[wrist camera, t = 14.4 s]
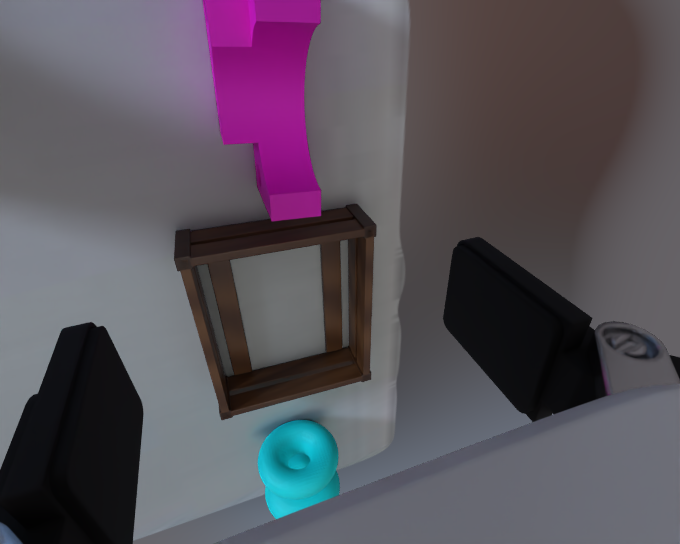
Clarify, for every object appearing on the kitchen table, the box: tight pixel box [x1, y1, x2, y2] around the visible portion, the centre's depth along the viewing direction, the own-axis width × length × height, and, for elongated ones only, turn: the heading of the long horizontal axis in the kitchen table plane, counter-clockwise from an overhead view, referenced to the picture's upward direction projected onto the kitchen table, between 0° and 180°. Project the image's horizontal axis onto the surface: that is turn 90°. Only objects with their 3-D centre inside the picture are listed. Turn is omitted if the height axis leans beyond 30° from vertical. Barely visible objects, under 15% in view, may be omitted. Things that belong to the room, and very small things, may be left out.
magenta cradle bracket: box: [203, 0, 321, 221], centre depth 28 cm, size 15×6×8 cm, turn 178°
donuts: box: [258, 420, 340, 519], centre depth 51 cm, size 10×10×10 cm
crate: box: [174, 204, 376, 420], centre depth 40 cm, size 20×17×5 cm
